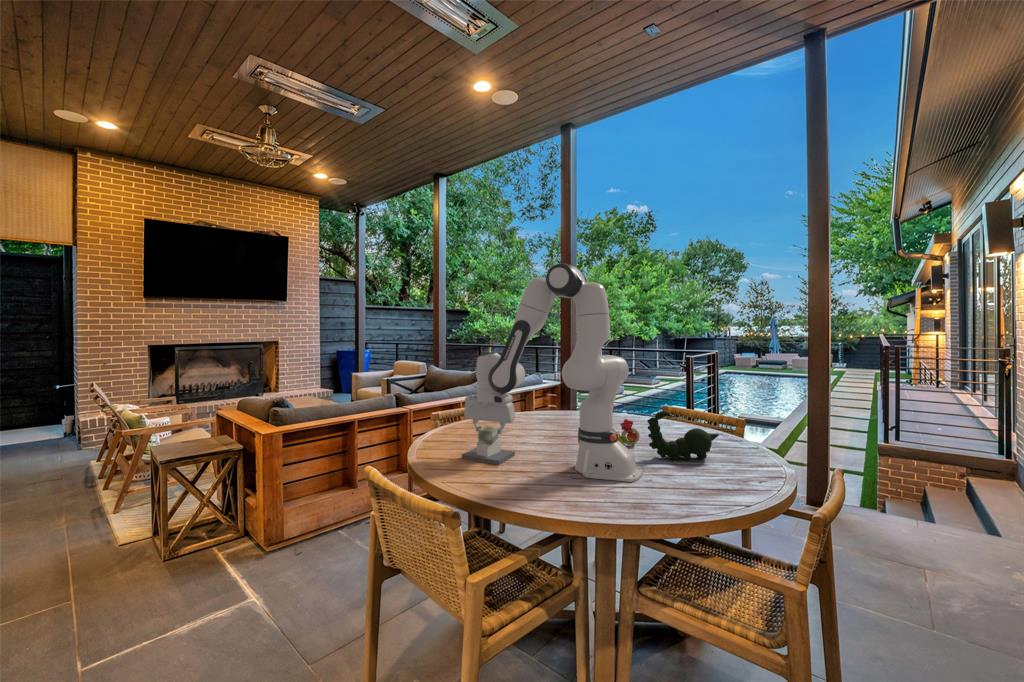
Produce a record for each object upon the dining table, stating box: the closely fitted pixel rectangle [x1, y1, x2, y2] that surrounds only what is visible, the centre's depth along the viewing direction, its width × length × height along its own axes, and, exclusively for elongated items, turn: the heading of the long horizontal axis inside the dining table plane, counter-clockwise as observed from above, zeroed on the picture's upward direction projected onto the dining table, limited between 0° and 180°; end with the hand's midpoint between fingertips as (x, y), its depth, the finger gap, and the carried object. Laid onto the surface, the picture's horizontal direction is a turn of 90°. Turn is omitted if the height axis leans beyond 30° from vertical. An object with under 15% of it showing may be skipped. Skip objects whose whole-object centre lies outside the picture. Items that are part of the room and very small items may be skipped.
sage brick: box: [477, 425, 499, 445], centre depth 167 cm, size 5×8×4 cm, turn 163°
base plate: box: [461, 446, 516, 466], centre depth 167 cm, size 16×12×2 cm
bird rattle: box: [618, 418, 640, 447], centre depth 179 cm, size 6×11×9 cm
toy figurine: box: [646, 410, 720, 462], centre depth 162 cm, size 9×19×25 cm
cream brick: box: [476, 438, 501, 457], centre depth 167 cm, size 5×8×4 cm, turn 146°
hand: (489, 432), depth 166 cm, fingers open, 8 cm apart
